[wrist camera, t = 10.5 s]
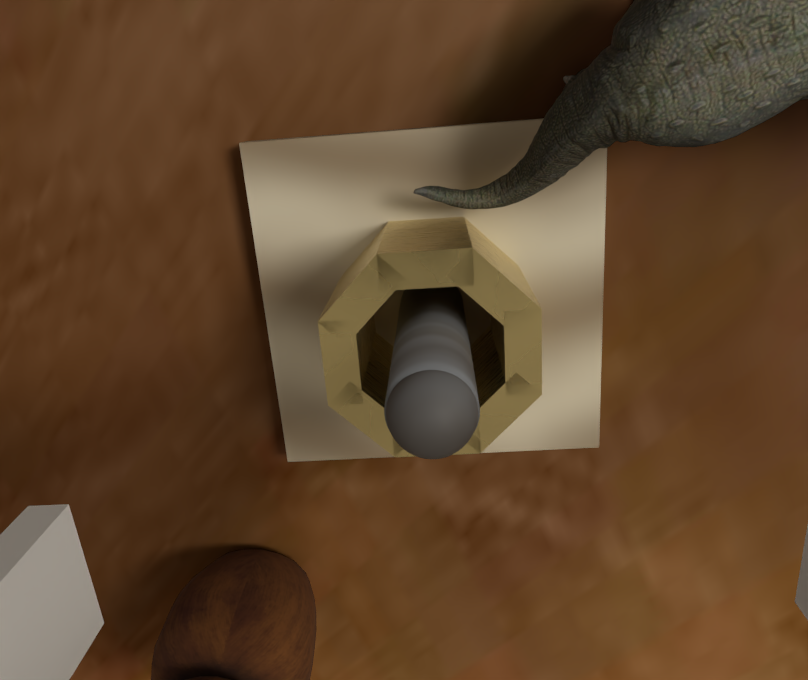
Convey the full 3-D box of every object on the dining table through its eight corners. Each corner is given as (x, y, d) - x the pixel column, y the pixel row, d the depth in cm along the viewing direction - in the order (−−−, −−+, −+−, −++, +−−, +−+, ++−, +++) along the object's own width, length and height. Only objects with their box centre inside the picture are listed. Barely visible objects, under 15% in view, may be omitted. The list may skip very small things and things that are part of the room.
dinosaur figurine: (421, 208, 27) (414, 275, 17) (377, -15, 25) (338, -100, 14) (984, 95, 25) (1383, 92, 15) (1006, -164, 22) (1518, -399, 12)
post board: (247, 141, 26) (101, 171, 15) (600, 113, 26) (742, 122, 14) (292, 448, 31) (209, 656, 19) (592, 434, 30) (694, 642, 19)
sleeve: (335, 224, 26) (309, 258, 21) (517, 212, 26) (541, 243, 20) (353, 390, 29) (334, 460, 23) (520, 381, 28) (542, 450, 23)
